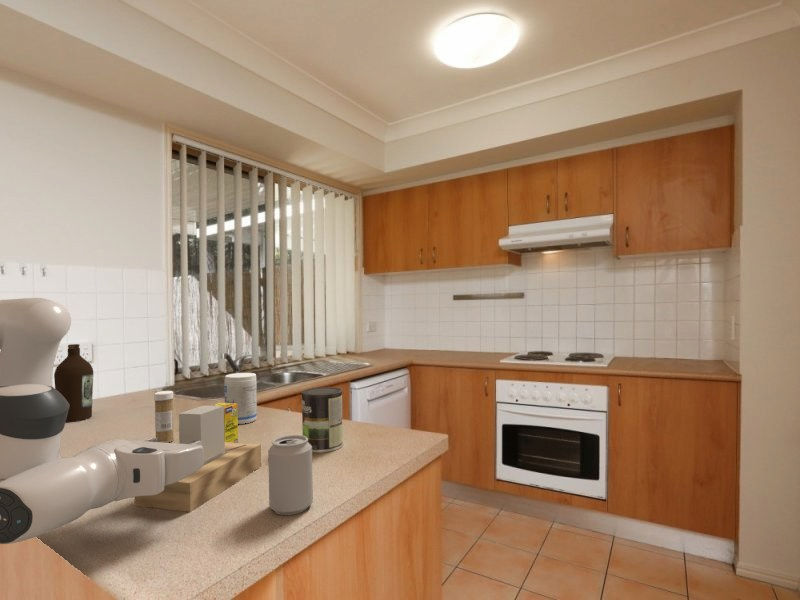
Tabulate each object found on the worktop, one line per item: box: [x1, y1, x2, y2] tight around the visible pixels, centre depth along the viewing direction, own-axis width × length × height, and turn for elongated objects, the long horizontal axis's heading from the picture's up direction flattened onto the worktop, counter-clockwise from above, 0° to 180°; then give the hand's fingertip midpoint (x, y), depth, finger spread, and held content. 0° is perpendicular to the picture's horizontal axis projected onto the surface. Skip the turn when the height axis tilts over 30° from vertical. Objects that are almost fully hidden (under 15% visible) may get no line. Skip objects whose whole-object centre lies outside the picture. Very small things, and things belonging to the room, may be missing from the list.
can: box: [267, 434, 314, 516], centre depth 78 cm, size 8×8×12 cm
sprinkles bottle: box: [153, 390, 175, 443], centre depth 119 cm, size 5×5×14 cm
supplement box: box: [211, 402, 239, 443], centre depth 113 cm, size 6×6×11 cm
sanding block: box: [178, 405, 225, 465], centre depth 89 cm, size 7×5×10 cm
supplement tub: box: [224, 372, 258, 425], centre depth 139 cm, size 10×10×15 cm
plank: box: [134, 442, 262, 513], centre depth 89 cm, size 22×12×5 cm, turn 165°
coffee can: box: [300, 386, 344, 454], centre depth 112 cm, size 10×10×14 cm
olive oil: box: [53, 343, 94, 423], centre depth 148 cm, size 11×11×25 cm
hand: (177, 443), depth 82 cm, fingers open, 8 cm apart
